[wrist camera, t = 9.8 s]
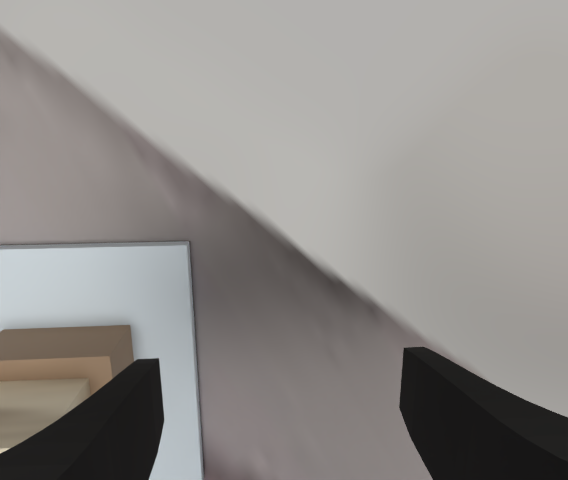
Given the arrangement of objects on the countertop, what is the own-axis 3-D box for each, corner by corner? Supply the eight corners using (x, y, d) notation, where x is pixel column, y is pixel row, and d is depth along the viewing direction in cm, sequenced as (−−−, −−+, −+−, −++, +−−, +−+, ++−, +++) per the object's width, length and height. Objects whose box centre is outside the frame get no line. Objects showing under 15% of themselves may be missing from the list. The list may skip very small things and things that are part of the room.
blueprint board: (203, 475, 24) (194, 538, 20) (-14, 489, 23) (-66, 557, 19) (189, 241, 20) (175, 263, 17) (-68, 246, 19) (-143, 272, 16)
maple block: (98, 457, 18) (57, 541, 15) (5, 461, 18) (-62, 549, 14) (88, 378, 17) (42, 446, 14) (-10, 381, 17) (-86, 452, 13)
